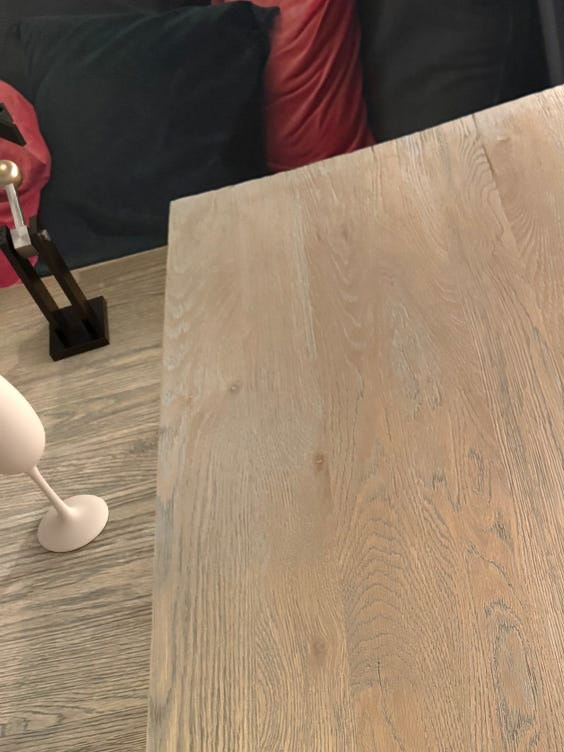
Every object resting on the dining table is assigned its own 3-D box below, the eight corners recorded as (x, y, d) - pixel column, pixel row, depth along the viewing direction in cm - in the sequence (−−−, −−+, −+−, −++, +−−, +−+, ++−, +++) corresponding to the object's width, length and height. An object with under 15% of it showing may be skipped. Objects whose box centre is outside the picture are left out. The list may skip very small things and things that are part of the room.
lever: (-2, 176, 124) (-17, 158, 121) (24, 168, 124) (10, 149, 121) (21, 263, 122) (6, 247, 118) (48, 255, 122) (34, 239, 119)
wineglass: (24, 536, 111) (-94, 402, 94) (77, 486, 114) (-28, 348, 97) (70, 563, 108) (-44, 429, 90) (123, 511, 111) (23, 372, 93)
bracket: (53, 318, 135) (-13, 218, 122) (106, 302, 135) (47, 199, 122) (53, 361, 129) (-15, 261, 116) (109, 344, 129) (47, 241, 116)
